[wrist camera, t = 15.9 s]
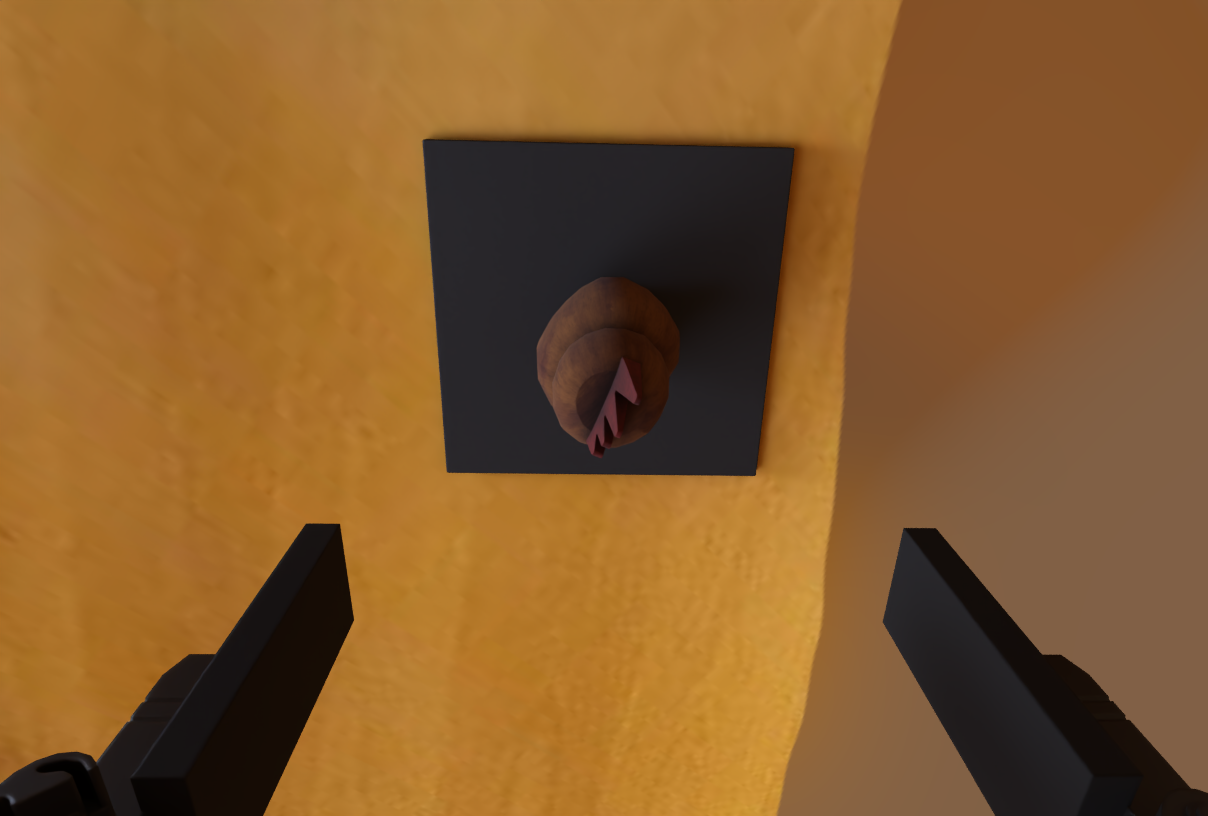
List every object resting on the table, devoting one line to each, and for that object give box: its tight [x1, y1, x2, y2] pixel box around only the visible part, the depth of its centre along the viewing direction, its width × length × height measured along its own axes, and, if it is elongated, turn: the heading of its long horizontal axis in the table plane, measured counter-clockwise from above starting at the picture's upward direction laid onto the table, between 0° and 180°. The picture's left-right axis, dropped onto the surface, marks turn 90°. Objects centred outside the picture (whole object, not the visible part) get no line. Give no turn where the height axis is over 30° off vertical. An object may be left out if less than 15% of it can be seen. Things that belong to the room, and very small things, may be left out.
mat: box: [423, 139, 795, 476], centre depth 37 cm, size 18×18×1 cm
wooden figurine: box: [537, 277, 680, 458], centre depth 30 cm, size 7×6×15 cm
